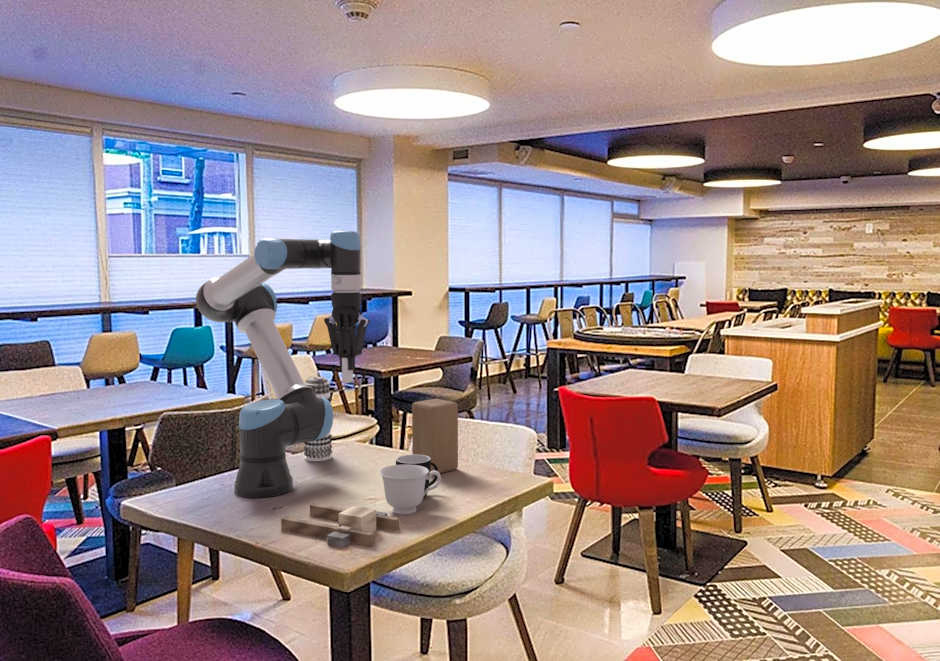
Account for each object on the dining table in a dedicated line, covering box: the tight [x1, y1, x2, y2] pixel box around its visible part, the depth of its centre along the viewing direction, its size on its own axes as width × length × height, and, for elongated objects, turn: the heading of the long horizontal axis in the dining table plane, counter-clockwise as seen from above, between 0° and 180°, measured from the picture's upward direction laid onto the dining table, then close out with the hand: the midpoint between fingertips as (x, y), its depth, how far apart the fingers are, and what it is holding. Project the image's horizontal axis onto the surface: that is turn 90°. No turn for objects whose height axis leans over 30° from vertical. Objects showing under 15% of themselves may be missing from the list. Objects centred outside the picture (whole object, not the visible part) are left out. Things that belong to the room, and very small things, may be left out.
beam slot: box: [280, 503, 400, 548], centre depth 173 cm, size 24×18×3 cm
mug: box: [395, 453, 438, 500], centre depth 197 cm, size 12×9×10 cm
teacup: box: [379, 464, 442, 516], centre depth 185 cm, size 12×15×10 cm
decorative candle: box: [303, 376, 333, 462], centre depth 234 cm, size 9×9×25 cm
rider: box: [338, 505, 377, 533], centre depth 171 cm, size 6×6×5 cm
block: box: [411, 398, 459, 474], centre depth 221 cm, size 10×10×20 cm
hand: (347, 382), depth 198 cm, fingers closed
